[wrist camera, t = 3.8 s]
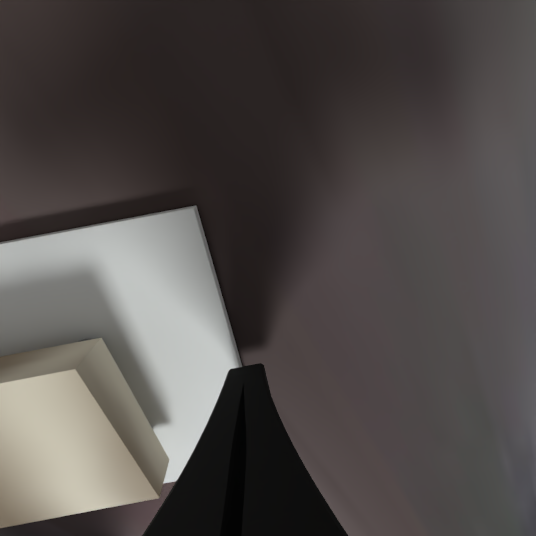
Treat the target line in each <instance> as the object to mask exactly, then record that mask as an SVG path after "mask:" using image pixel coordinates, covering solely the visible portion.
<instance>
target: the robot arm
mask: <svg viewBox="0 0 536 536" xmlns="http://www.w3.org/2000/svg"><path fill="white" fill-rule="evenodd" d="M142 536H348V535H347V533H346V532H345V530H344V529H343V527H342V526H341V524H340V523H339V521H338V520H337V518H336V517H335V515H334V513H333V512H332V510H331V509H330V507H329V505H328V504H327V502H326V501H325V499H324V498H323V496H322V494H321V493H320V491H319V490H318V488H317V486H316V485H315V483H314V481H313V480H312V478H311V476H310V474H309V473H308V471H307V469H306V468H305V466H304V464H303V462H302V460H301V459H300V457H299V455H298V453H297V451H296V449H295V448H294V446H293V444H292V442H291V440H290V438H289V436H288V434H287V432H286V430H285V428H284V425H283V423H282V421H281V419H280V417H279V414H278V412H277V410H276V407H275V405H274V402H273V400H272V397H271V394H270V390H269V385H268V381H267V377H266V373H265V368H264V365H263V364H261V363H260V364H254V365H249V366H244V367H238V368H233V369H230V370H229V371H228V373H227V376H226V379H225V382H224V385H223V387H222V390H221V392H220V395H219V397H218V400H217V402H216V404H215V407H214V409H213V411H212V413H211V416H210V418H209V420H208V422H207V425H206V427H205V429H204V431H203V433H202V435H201V437H200V439H199V441H198V443H197V445H196V447H195V449H194V451H193V453H192V454H191V456H190V458H189V460H188V462H187V464H186V466H185V467H184V469H183V471H182V473H181V474H180V476H179V478H178V479H177V481H176V483H175V485H174V486H173V488H172V490H171V491H170V493H169V495H168V496H167V498H166V499H165V501H164V503H163V504H162V506H161V507H160V509H159V511H158V512H157V514H156V515H155V517H154V518H153V520H152V522H151V523H150V525H149V526H148V528H147V529H146V531H145V532H144V534H143V535H142Z"/></svg>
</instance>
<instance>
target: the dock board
mask: <svg viewBox="0 0 536 536" xmlns="http://www.w3.org/2000/svg"><path fill="white" fill-rule="evenodd" d="M96 338H102V339H103V341H104V343H105V345H106V346H107V348H108V350H109V352H110V353H111V355H112V357H113V359H114V361H115V362H116V364H117V366H118V368H119V370H120V371H121V373H122V375H123V377H124V379H125V380H126V382H127V384H128V386H129V388H130V389H131V391H132V393H133V395H134V397H135V398H136V400H137V402H138V404H139V406H140V407H141V409H142V411H143V413H144V415H145V416H146V418H147V420H148V422H149V424H150V425H151V427H152V429H153V431H154V433H155V434H156V436H157V438H158V440H159V442H160V443H161V445H162V447H163V449H164V451H165V452H166V454H167V456H168V458H169V459H170V460H169V463H168V467H167V471H166V475H165V479H164V482H163V483H168V482H174V481H177V479H178V478H179V476H180V474H181V473H182V471H183V469H184V467H185V466H186V464H187V462H188V460H189V458H190V456H191V454H192V453H193V451H194V449H195V447H196V445H197V443H198V441H199V439H200V437H201V435H202V433H203V431H204V429H205V427H206V425H207V422H208V420H209V418H210V416H211V413H212V411H213V409H214V407H215V404H216V402H217V400H218V397H219V395H220V392H221V390H222V387H223V385H224V382H225V379H226V376H227V373H228V371H229V370H230V369H233V368H238V367H242V363H241V360H240V356H239V353H238V349H237V346H236V342H235V339H234V335H233V332H232V328H231V325H230V321H229V318H228V314H227V311H226V307H225V304H224V300H223V297H222V293H221V290H220V286H219V283H218V279H217V276H216V272H215V269H214V265H213V262H212V258H211V255H210V251H209V248H208V244H207V241H206V237H205V234H204V230H203V227H202V223H201V220H200V216H199V213H198V209H197V206H196V205H195V206H190V207H184V208H179V209H174V210H169V211H163V212H158V213H153V214H147V215H142V216H137V217H132V218H126V219H121V220H116V221H110V222H105V223H100V224H95V225H89V226H84V227H79V228H73V229H68V230H63V231H58V232H52V233H47V234H42V235H36V236H31V237H26V238H21V239H15V240H10V241H5V242H0V357H1V356H7V355H12V354H17V353H23V352H28V351H33V350H38V349H44V348H49V347H54V346H59V345H65V344H70V343H75V342H78V341H81V340H84V339H96Z"/></svg>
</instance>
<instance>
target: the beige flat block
mask: <svg viewBox="0 0 536 536" xmlns="http://www.w3.org/2000/svg"><path fill="white" fill-rule="evenodd" d="M169 460H170V459H169V458H168V456H167V454H166V452H165V451H164V449H163V447H162V445H161V443H160V442H159V440H158V438H157V436H156V434H155V433H154V431H153V429H152V427H151V425H150V424H149V422H148V420H147V418H146V416H145V415H144V413H143V411H142V409H141V407H140V406H139V404H138V402H137V400H136V398H135V397H134V395H133V393H132V391H131V389H130V388H129V386H128V384H127V382H126V380H125V379H124V377H123V375H122V373H121V371H120V370H119V368H118V366H117V364H116V362H115V361H114V359H113V357H112V355H111V353H110V352H109V350H108V348H107V346H106V345H105V343H104V341H103V339H102V338H96V339H84V340H81V341H78V342H75V343H70V344H65V345H59V346H54V347H49V348H44V349H38V350H33V351H28V352H23V353H17V354H12V355H7V356H1V357H0V528H4V527H9V526H15V525H20V524H25V523H30V522H36V521H41V520H46V519H51V518H57V517H62V516H67V515H73V514H78V513H83V512H88V511H94V510H99V509H104V508H109V507H115V506H120V505H125V504H131V503H136V502H141V501H146V500H152V499H157V498H160V494H161V490H162V486H163V482H164V479H165V475H166V471H167V467H168V463H169Z"/></svg>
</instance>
